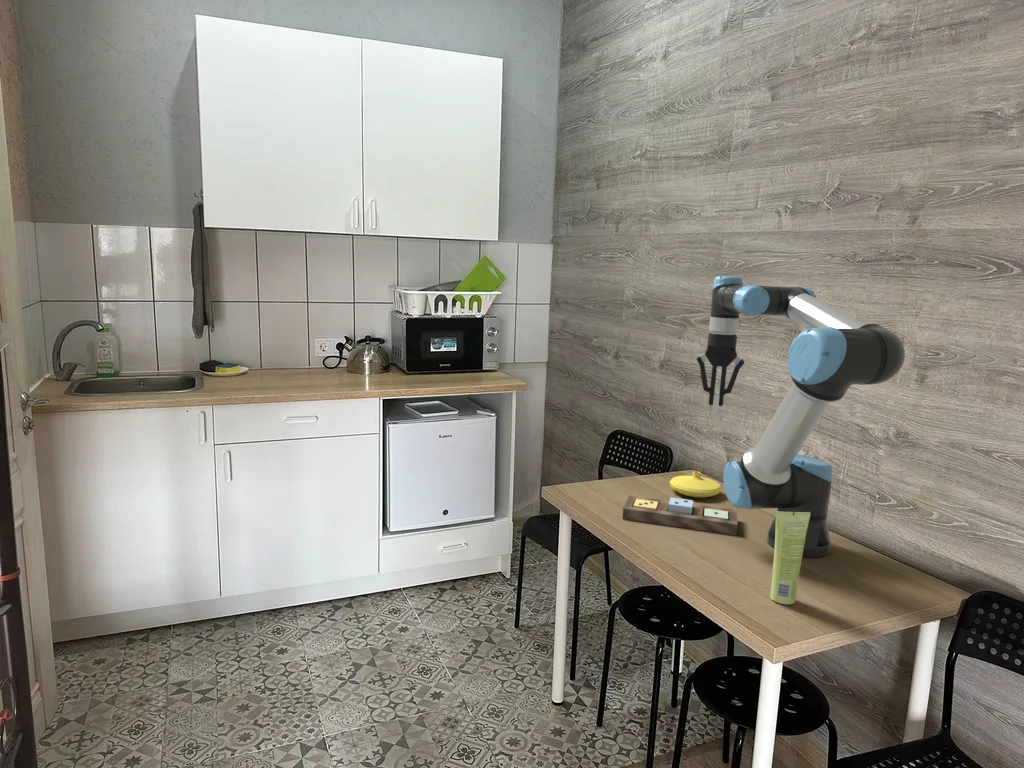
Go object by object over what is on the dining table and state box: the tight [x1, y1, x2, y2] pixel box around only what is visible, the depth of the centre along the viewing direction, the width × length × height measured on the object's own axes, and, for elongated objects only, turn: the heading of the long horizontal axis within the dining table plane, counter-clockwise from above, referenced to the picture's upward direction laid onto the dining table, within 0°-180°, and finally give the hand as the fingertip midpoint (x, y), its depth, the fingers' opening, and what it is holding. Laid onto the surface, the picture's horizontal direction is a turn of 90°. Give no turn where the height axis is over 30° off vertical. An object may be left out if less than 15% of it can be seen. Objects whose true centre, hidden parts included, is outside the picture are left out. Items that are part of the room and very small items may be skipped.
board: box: [622, 495, 739, 536], centre depth 190 cm, size 30×12×3 cm, turn 73°
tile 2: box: [668, 497, 694, 515], centre depth 190 cm, size 6×6×3 cm
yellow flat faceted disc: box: [669, 470, 722, 499], centre depth 214 cm, size 16×16×7 cm
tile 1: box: [704, 508, 728, 520], centre depth 188 cm, size 6×6×3 cm
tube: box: [769, 510, 810, 606], centre depth 144 cm, size 6×5×20 cm
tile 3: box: [633, 499, 658, 510], centre depth 193 cm, size 6×6×3 cm
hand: (714, 416), depth 192 cm, fingers closed
